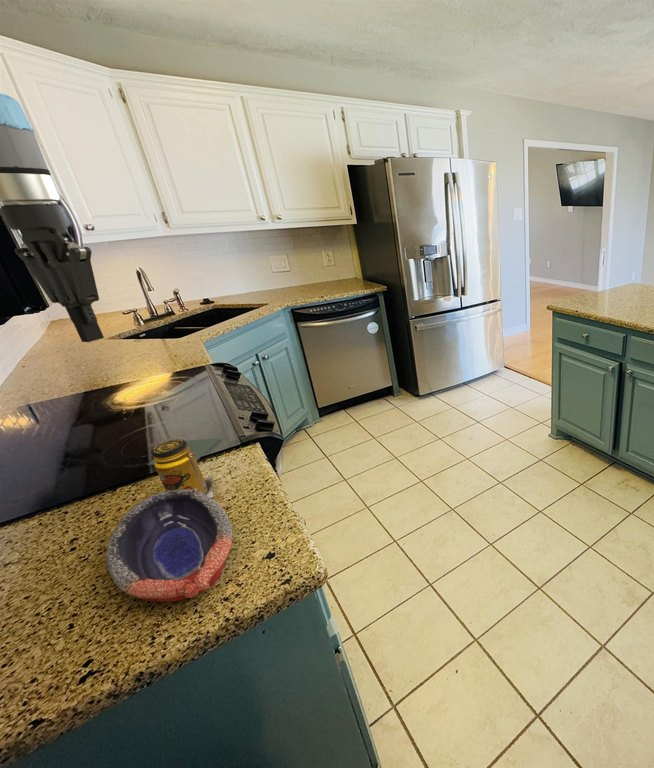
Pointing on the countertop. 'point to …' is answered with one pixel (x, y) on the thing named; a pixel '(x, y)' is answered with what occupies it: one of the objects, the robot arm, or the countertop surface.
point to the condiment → (180, 468)
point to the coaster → (196, 448)
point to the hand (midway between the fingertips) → (93, 339)
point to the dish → (170, 546)
